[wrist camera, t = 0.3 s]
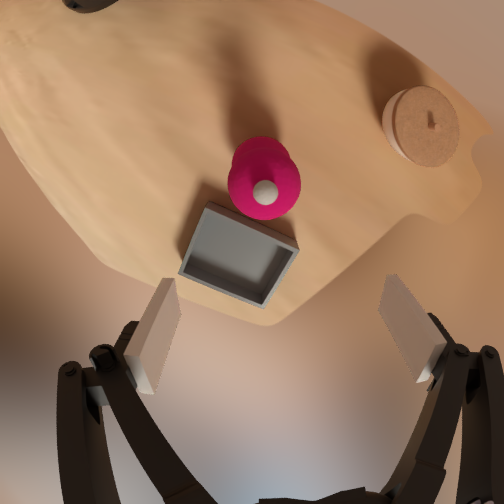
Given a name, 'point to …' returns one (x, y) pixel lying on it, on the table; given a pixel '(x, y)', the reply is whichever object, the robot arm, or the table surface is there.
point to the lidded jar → (421, 126)
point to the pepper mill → (263, 179)
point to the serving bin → (237, 256)
